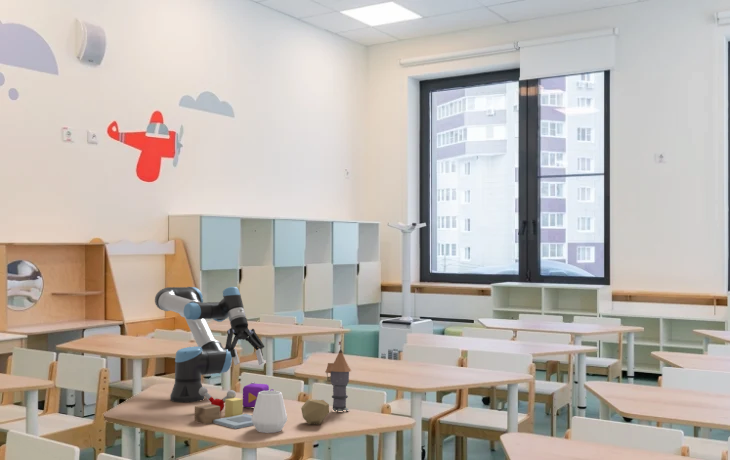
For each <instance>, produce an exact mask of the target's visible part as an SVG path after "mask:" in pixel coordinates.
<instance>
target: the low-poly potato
mask: <svg viewBox="0 0 730 460" xmlns="http://www.w3.org/2000/svg"><path fill="white" fill-rule="evenodd" d="M300 409H301V415H302V418H303V419H304V420H305V422H306V423H307V424H308V425H321V424H322V423H323V421H324V419H325V417H326V416H327V415H328V414H329V413H330V405H329V403H328V402H326V401H325V400H324V399H311V398H308V399H306V400H305V402H304V404H303V405H302V406H301V407H300Z"/></svg>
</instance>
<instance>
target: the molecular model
mask: <svg viewBox="0 0 730 460" xmlns="http://www.w3.org/2000/svg"><path fill="white" fill-rule="evenodd" d="M236 393H237V392H236V391H235V390H233V389H229V390H228V391H227V392H226V395H225V396H224V397H223V398H214V397H213V396H212V395H210V393H209V391H208V388H207V387H205V386H202V387H201V388H200V389H199V394H200V395H201V396H205V397H204V398H205V399H207V400H208V401H209V402H210V404H212V405H217V406H220V413H221V412H222V411H223V410H224V409H225V399H230V398H236V395H237V394H236Z"/></svg>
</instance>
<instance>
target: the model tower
mask: <svg viewBox="0 0 730 460" xmlns="http://www.w3.org/2000/svg"><path fill="white" fill-rule="evenodd" d="M338 346H340V349H339V351H338V353H337V356H336V357H335V359H334V362H332V363H330V362H328V363H327V367H326V369H325V372H324V373H326V383H325V384H326V385H327V384H328V385H331V386H332V392H333V393H332V395H331V398H332V401H333V402H332V409H333V410H334V411H336V410H337V411H343V410H346V411H347V410H349V407H347V398H348V395H347V386H348V384H349V382H350V373H351V372H352V369H351V367H350V366H349V364H348V362H347V360H346V358H345V356H344V353H343V350H342V341H338ZM328 374H330V375H329V376H328ZM349 411H350V410H349Z"/></svg>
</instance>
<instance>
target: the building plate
mask: <svg viewBox="0 0 730 460" xmlns="http://www.w3.org/2000/svg"><path fill="white" fill-rule="evenodd" d="M252 415H253V414H252ZM252 415H251V414H249V413H244V414H242V415H237V416H231V417H220V419H215V420H213V424H217V425H220V426H223V427H227V428H231V429H235V430H237V429H242V428H247V427H251V426H254V424H253V423H252V420H251V419H252Z"/></svg>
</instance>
